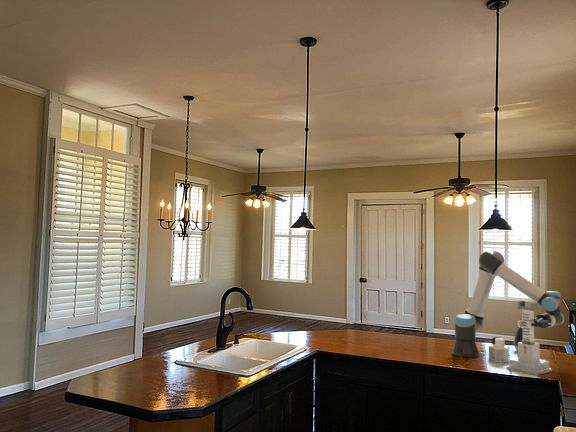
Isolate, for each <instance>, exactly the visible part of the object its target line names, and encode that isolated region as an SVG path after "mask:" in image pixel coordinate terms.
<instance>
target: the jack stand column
mask: <svg viewBox="0 0 576 432" xmlns="http://www.w3.org/2000/svg"><path fill="white" fill-rule="evenodd" d="M538 306H539V304H538V302H535V301H534V302H530V305H526V300H519V301H517V310H522V313H521V319H522V324H523V326H522V327H523V340H522V341H526V342H529V344H530V345H532V344H534V343H536V341H535V326H534V327H530V328H527V323H526V322H532V321H534V318H535V317H534V313H535V312H534V311H538V310H539V307H538Z"/></svg>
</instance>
